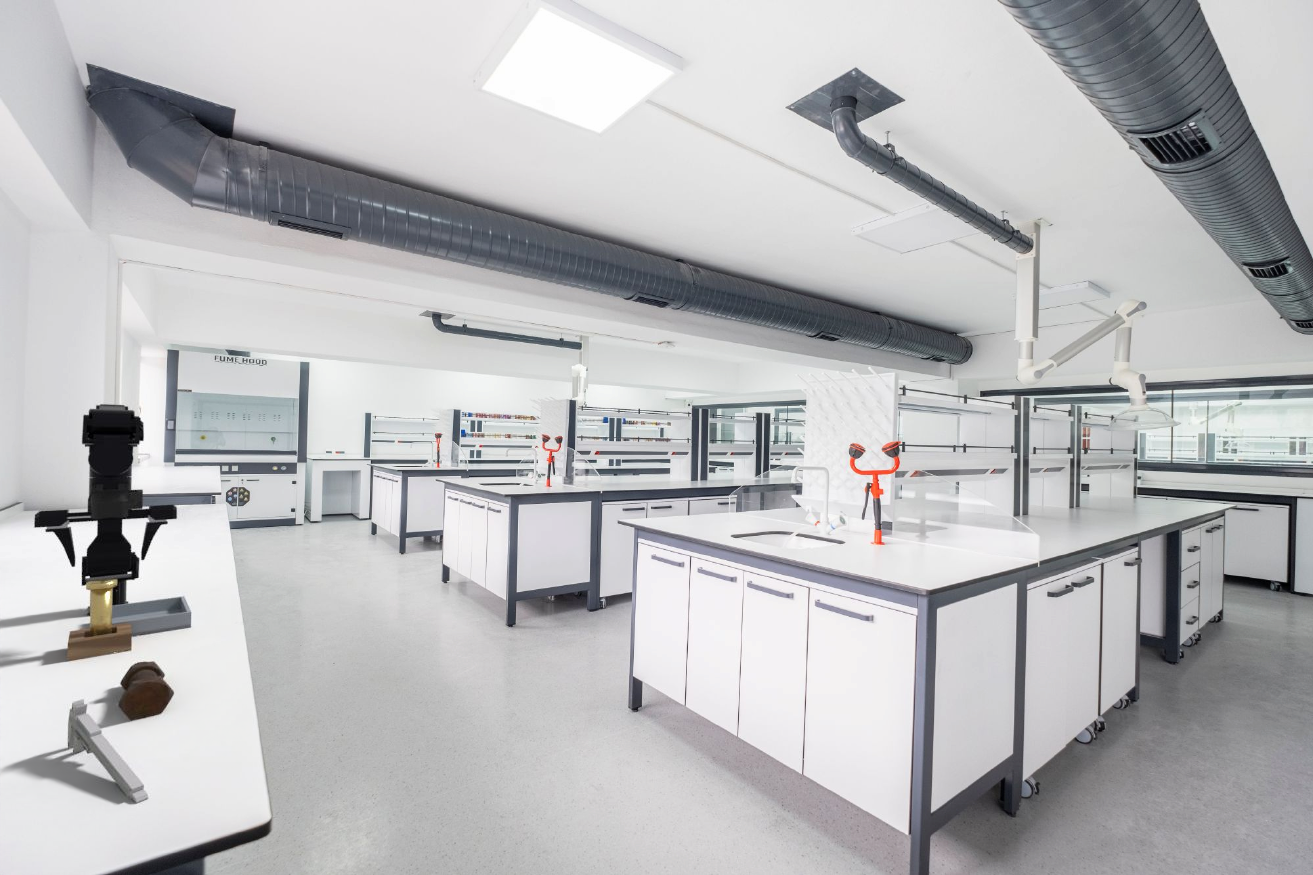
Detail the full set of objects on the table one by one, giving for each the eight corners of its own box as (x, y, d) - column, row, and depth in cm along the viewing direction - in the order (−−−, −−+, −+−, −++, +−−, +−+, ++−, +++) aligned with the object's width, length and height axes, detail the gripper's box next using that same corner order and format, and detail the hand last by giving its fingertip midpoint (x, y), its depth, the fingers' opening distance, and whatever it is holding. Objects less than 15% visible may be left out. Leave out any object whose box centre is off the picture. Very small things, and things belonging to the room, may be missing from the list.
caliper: (66, 750, 72) (67, 699, 72) (78, 746, 73) (79, 696, 73) (136, 806, 61) (137, 746, 61) (149, 800, 62) (150, 741, 62)
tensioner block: (69, 648, 104) (69, 631, 104) (130, 638, 110) (130, 622, 110) (67, 661, 98) (67, 643, 98) (131, 650, 104) (131, 633, 104)
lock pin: (85, 648, 104) (86, 580, 104) (115, 643, 107) (117, 577, 107) (84, 655, 101) (85, 585, 101) (115, 649, 104) (117, 581, 104)
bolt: (147, 694, 91) (153, 726, 80) (109, 685, 88) (110, 718, 77) (172, 656, 93) (181, 683, 82) (135, 647, 90) (140, 673, 79)
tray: (101, 621, 119) (101, 607, 119) (183, 609, 127) (184, 596, 127) (100, 641, 108) (101, 625, 108) (190, 627, 116) (191, 611, 116)
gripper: (32, 477, 96) (29, 574, 95) (179, 474, 108) (178, 560, 107) (38, 479, 104) (36, 568, 103) (175, 476, 116) (174, 555, 115)
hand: (109, 563), depth 107 cm, fingers open, 9 cm apart
